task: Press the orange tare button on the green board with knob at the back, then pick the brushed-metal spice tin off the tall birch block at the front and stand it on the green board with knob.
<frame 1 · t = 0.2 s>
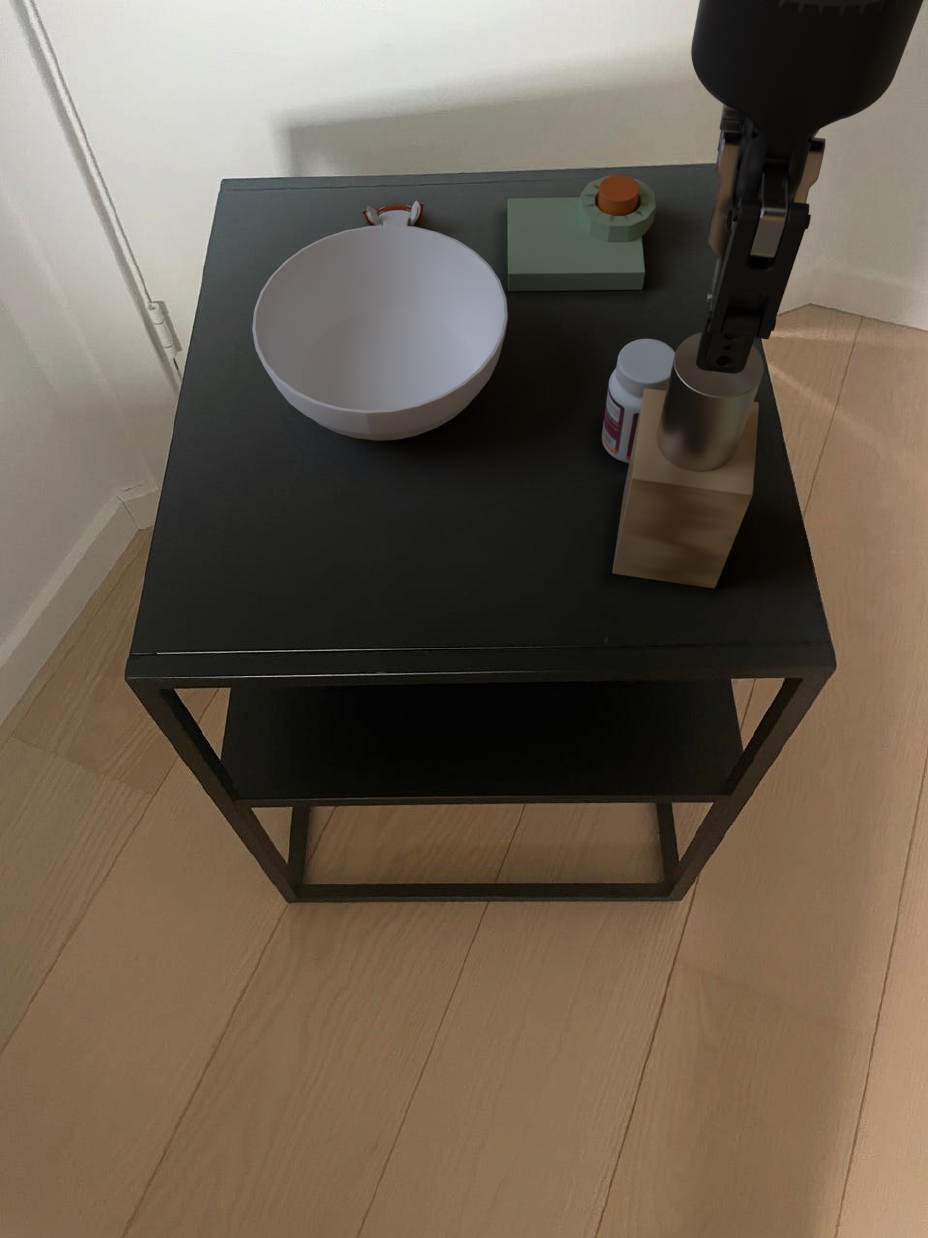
hand: (724, 300, 46), 23 cm above the table, tool pointing down, fingers open, 8 cm apart
toy car: (396, 244, 82), on the table
spice tin: (696, 439, 57), point 11 cm above the table, touching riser
bowl: (390, 384, 75), on the table
green board with knob: (572, 252, 81), on the table
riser: (668, 538, 67), on the table
pill bottle: (632, 441, 71), on the table
tare button: (618, 195, 78), point 4 cm above the table, slide at 0.1 cm
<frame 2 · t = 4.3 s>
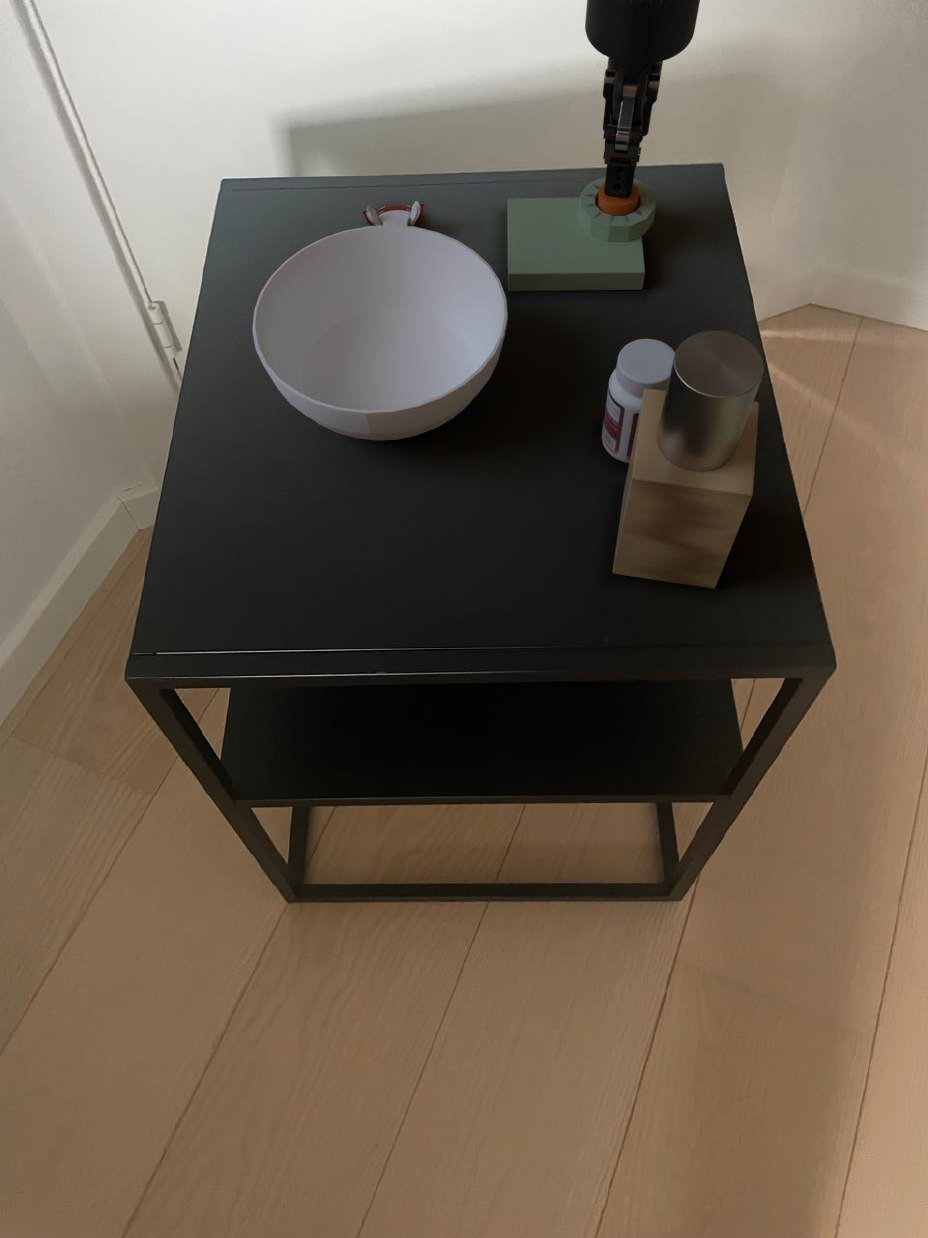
hand: (618, 190, 78), 4 cm above the table, tool pointing down, fingers closed
tare button: (617, 199, 78), point 4 cm above the table, slide at -0.3 cm, touching gripper
everything else where it was.
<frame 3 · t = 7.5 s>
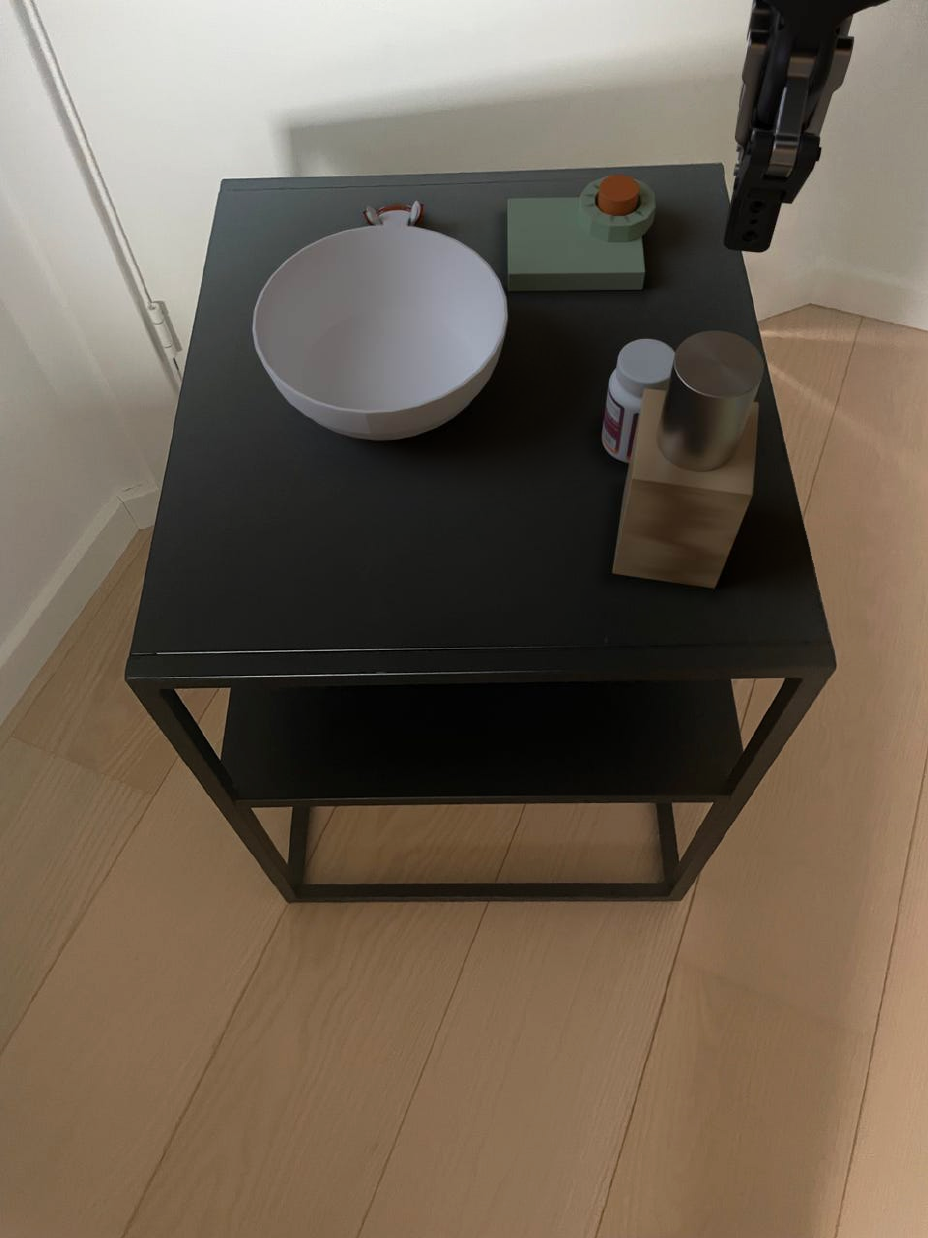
hand: (745, 240, 47), 24 cm above the table, tool pointing down, fingers closed
tare button: (618, 195, 78), point 4 cm above the table, slide at 0.1 cm
everything else where it was.
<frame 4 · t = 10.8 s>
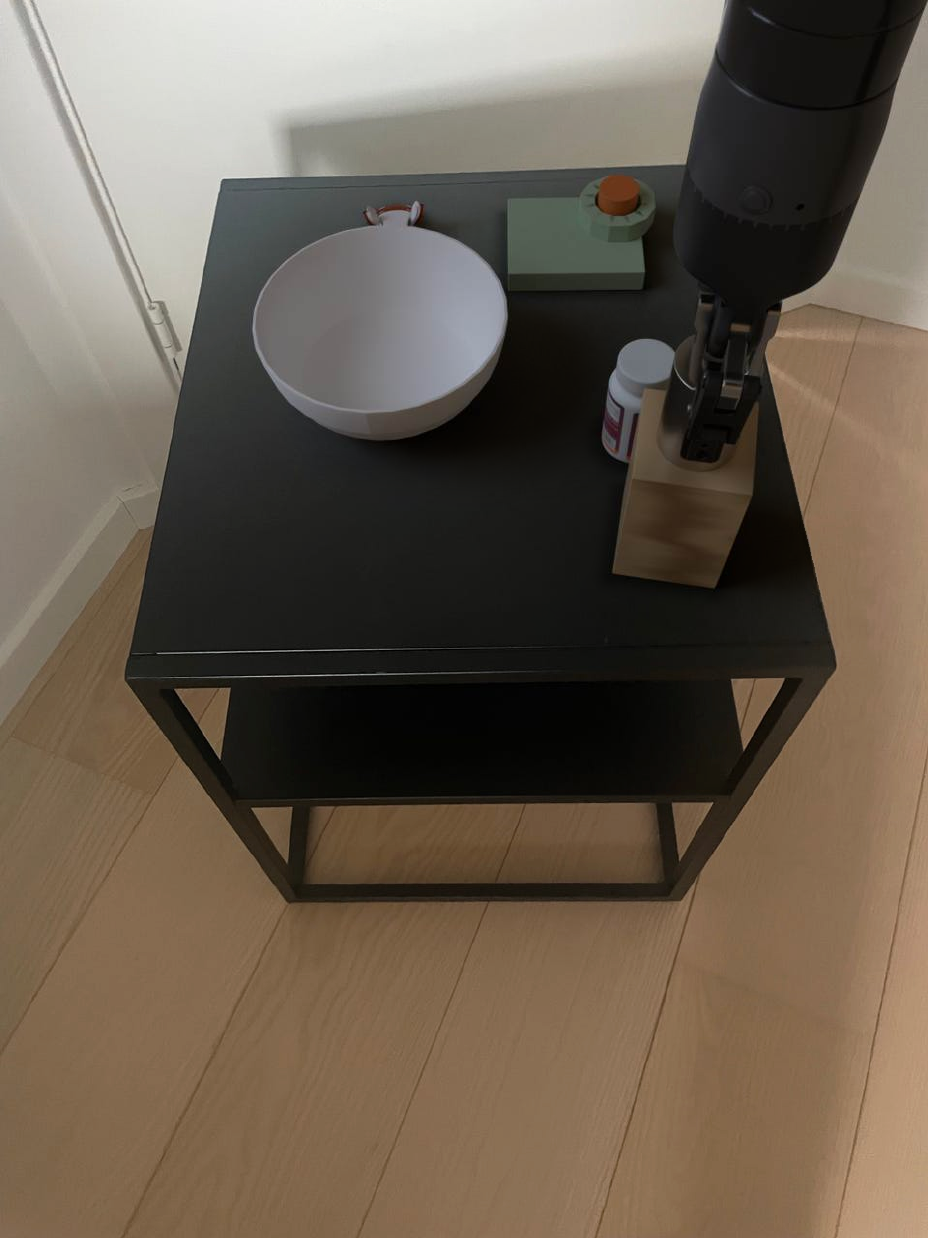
hand: (702, 418, 56), 13 cm above the table, tool pointing down, fingers closed on spice tin, 4 cm apart
spice tin: (696, 439, 57), point 11 cm above the table, touching gripper, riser
everything else where it was.
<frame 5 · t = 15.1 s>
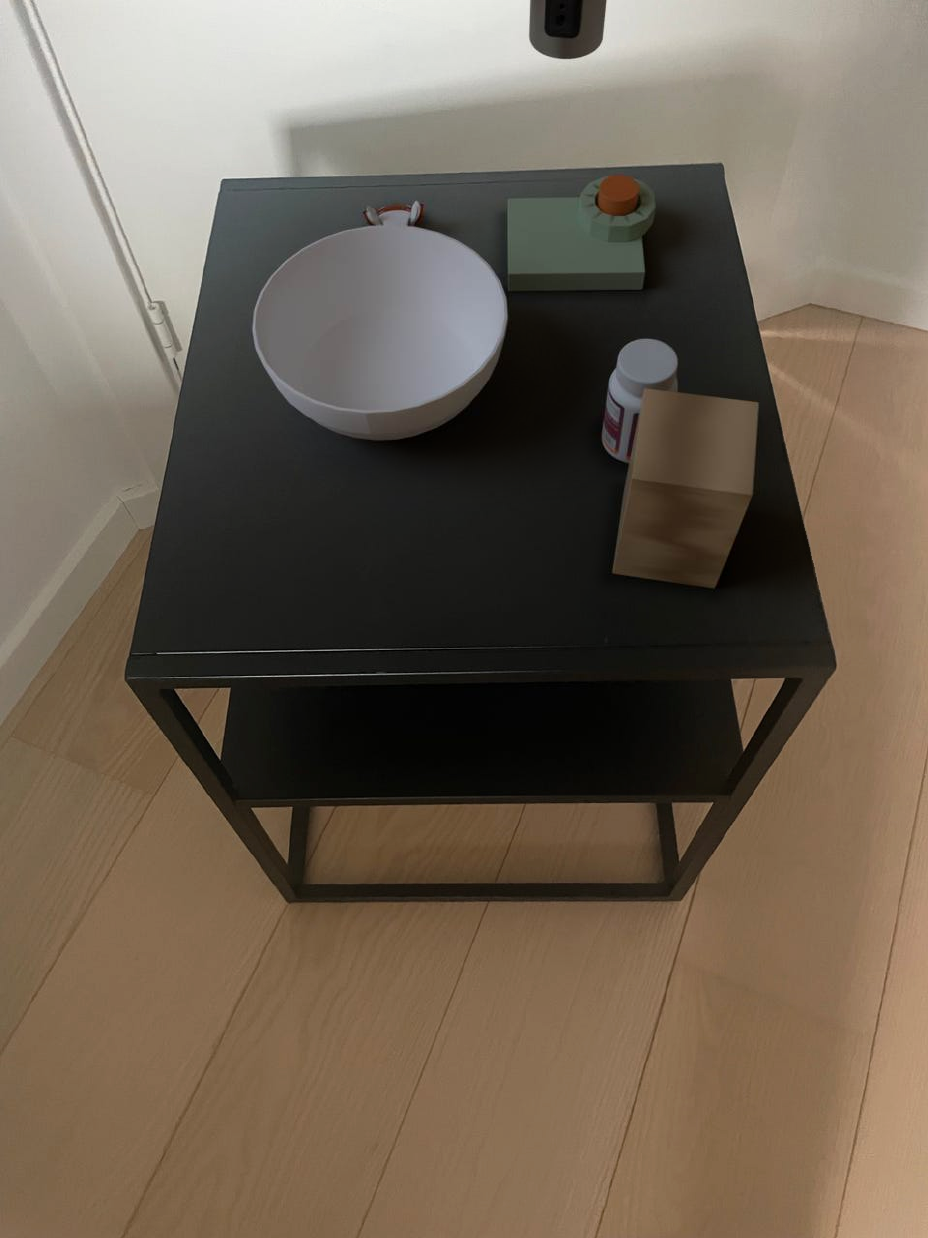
hand: (568, 7, 61), 21 cm above the table, tool pointing down, fingers closed on spice tin, 4 cm apart
spice tin: (565, 36, 62), point 20 cm above the table, touching gripper
everything else where it was.
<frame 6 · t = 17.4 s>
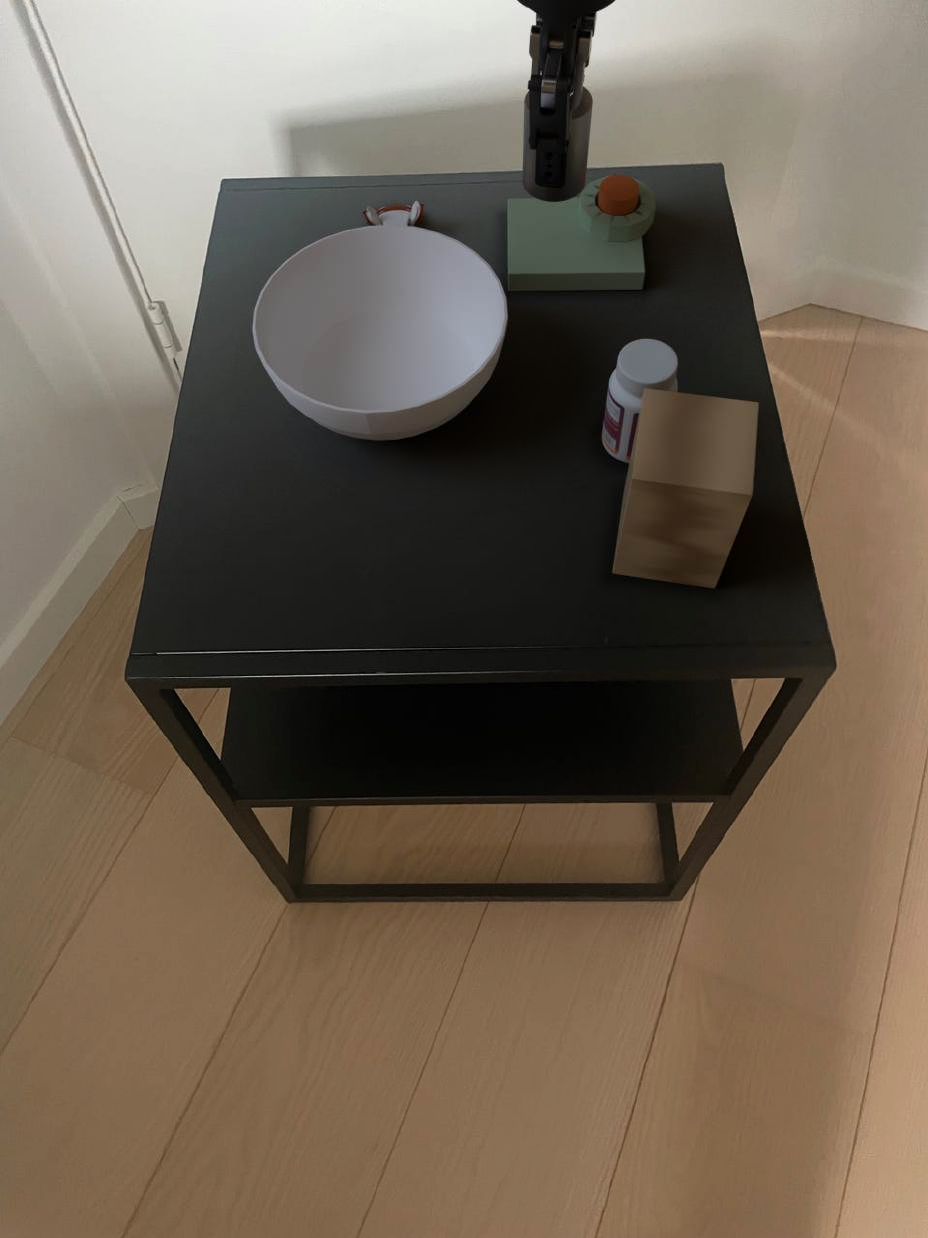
hand: (555, 158, 71), 10 cm above the table, tool pointing down, fingers closed on spice tin, 4 cm apart
spice tin: (553, 180, 73), point 8 cm above the table, touching gripper
everything else where it was.
when the fingers open (4 cm above the table, at t = 19.3 s): spice tin stays where it is, resting on green board with knob.
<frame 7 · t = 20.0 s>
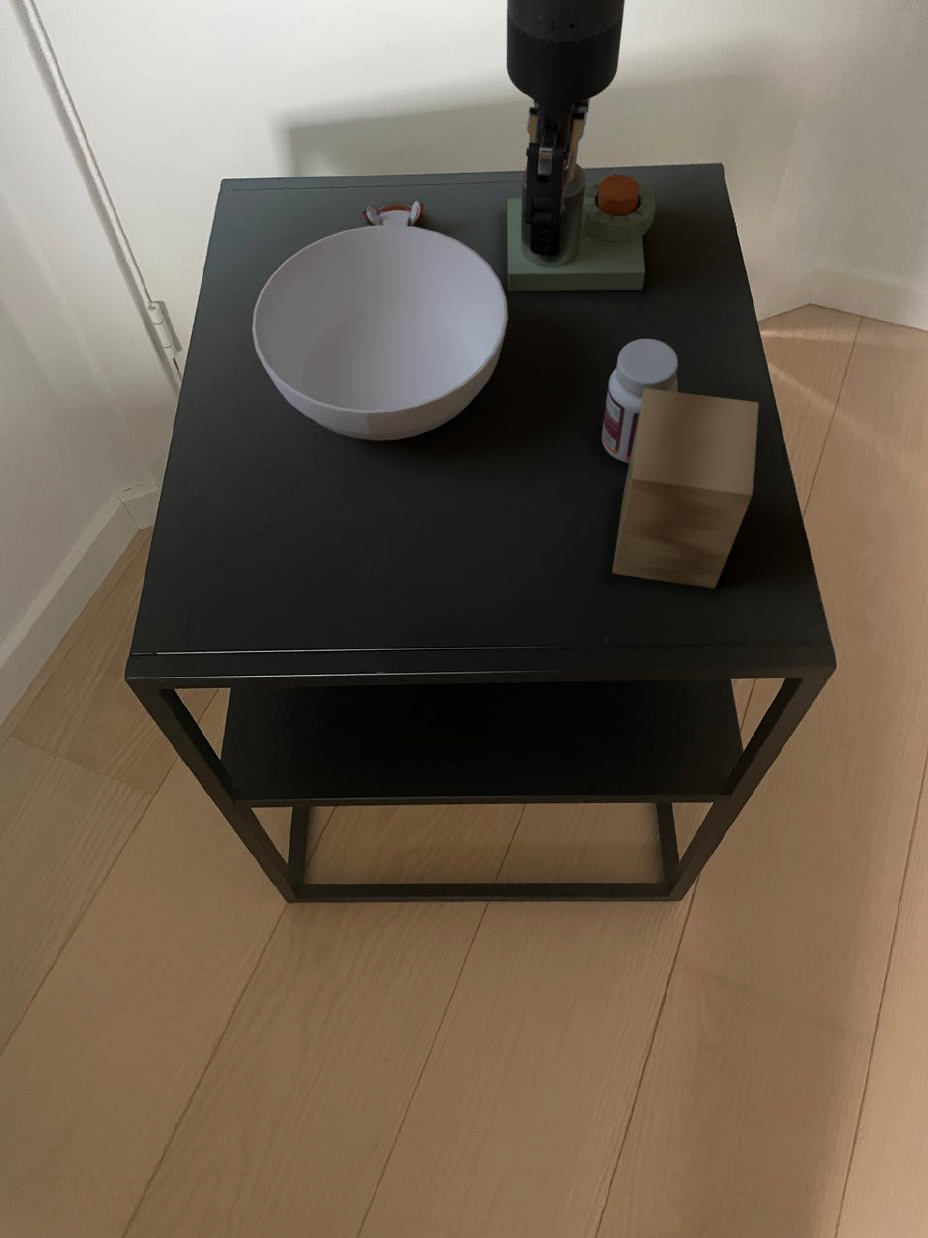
hand: (553, 214, 75), 5 cm above the table, tool pointing down, fingers open, 8 cm apart
spice tin: (550, 246, 78), point 2 cm above the table, touching green board with knob
everything else where it was.
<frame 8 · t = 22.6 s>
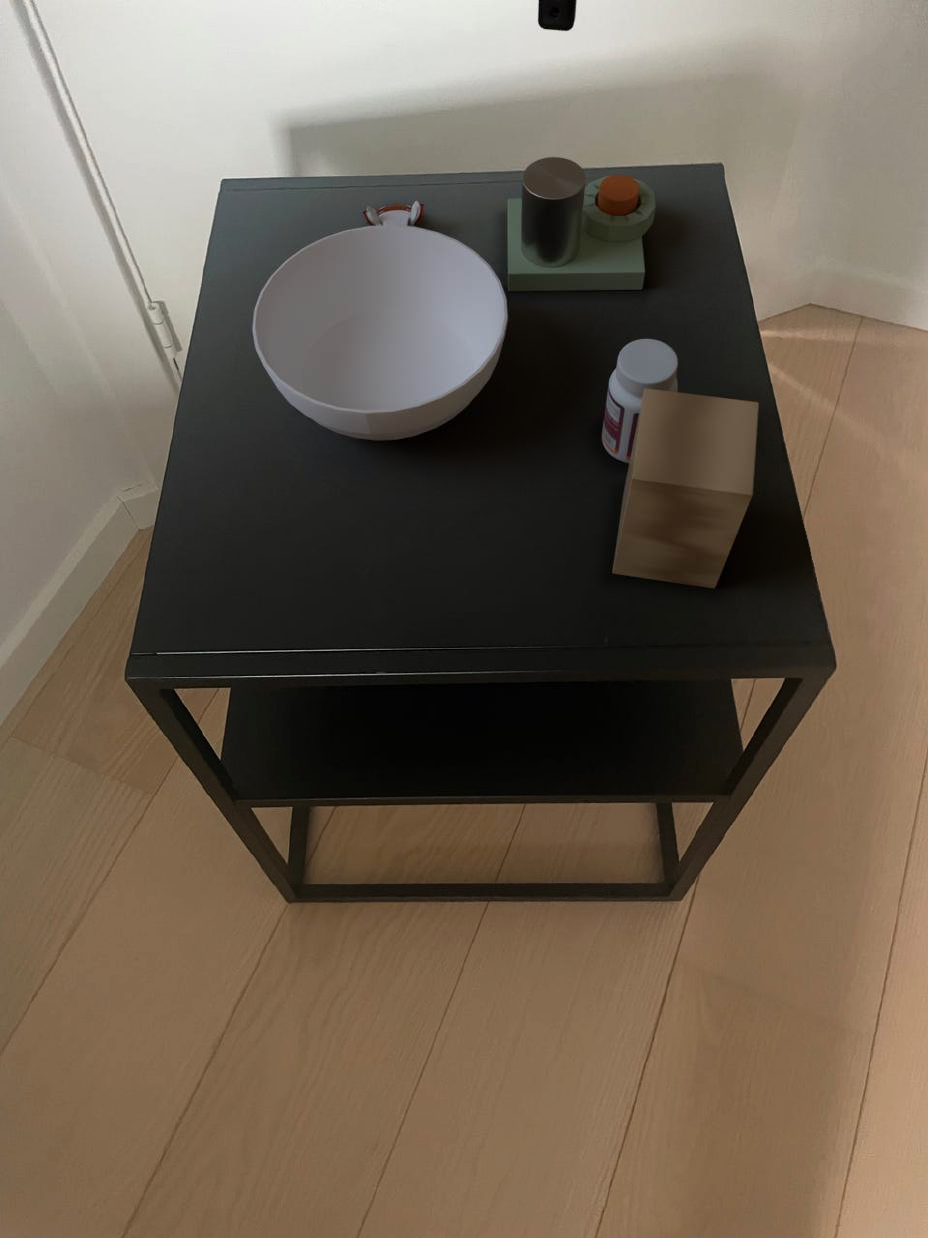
nothing on the table moved.
at the end: tare button pushed in 0.9 cm at the most during the clip, back to where it started at the end; spice tin inside the target area on the green board with knob (2.5 cm from its centre), point 1.9 cm above the green board with knob's base; spice tin touching green board with knob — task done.
